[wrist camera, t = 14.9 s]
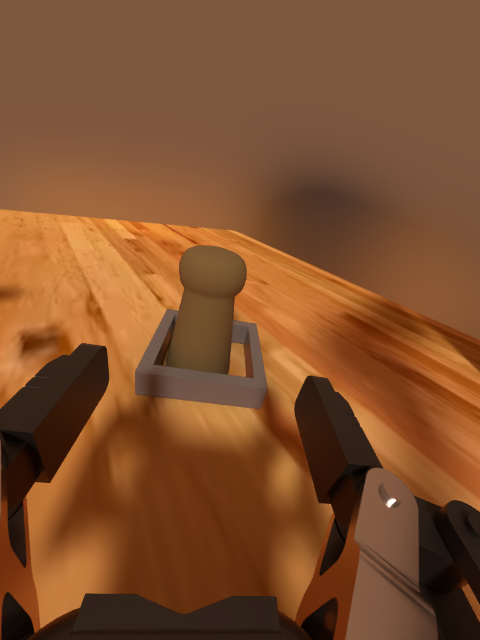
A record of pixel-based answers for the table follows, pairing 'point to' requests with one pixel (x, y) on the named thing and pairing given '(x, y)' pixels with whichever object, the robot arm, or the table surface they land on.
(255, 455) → the table surface
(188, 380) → the square frame
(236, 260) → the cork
